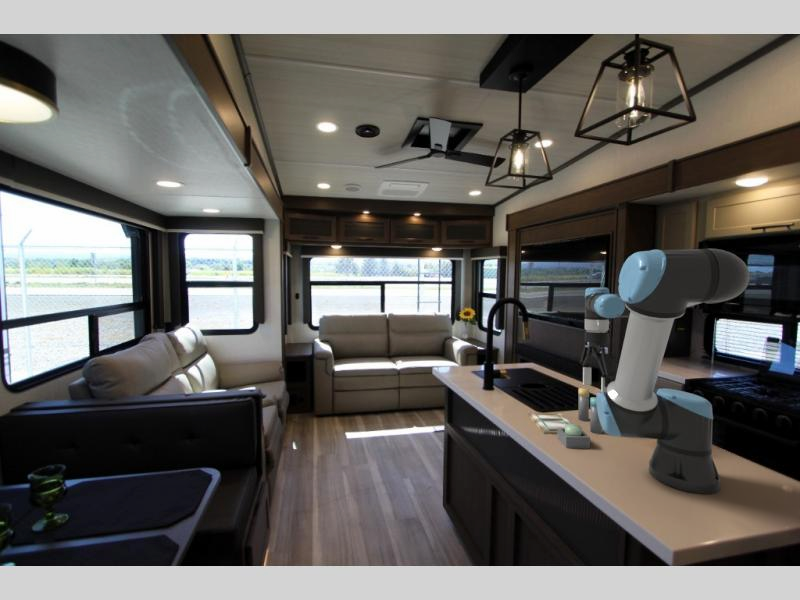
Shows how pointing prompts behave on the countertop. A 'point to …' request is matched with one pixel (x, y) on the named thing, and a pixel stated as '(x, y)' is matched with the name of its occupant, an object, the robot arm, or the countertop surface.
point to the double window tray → (549, 422)
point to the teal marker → (594, 417)
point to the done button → (573, 430)
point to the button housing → (573, 439)
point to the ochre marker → (583, 404)
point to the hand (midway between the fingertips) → (596, 390)
